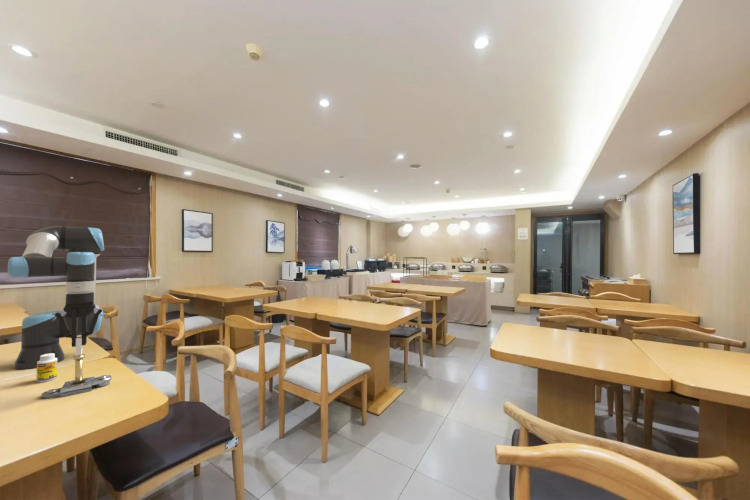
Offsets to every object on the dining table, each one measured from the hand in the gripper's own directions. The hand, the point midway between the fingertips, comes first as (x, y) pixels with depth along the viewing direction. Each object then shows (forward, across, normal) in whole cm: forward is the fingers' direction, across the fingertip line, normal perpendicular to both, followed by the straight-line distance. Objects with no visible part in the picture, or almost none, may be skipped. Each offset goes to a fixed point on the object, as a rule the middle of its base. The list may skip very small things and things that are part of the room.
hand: (79, 354), depth 109 cm
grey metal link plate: (+13, 0, 0) cm, 13 cm away
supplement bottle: (+14, -12, +20) cm, 27 cm away
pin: (+13, 0, 0) cm, 13 cm away
